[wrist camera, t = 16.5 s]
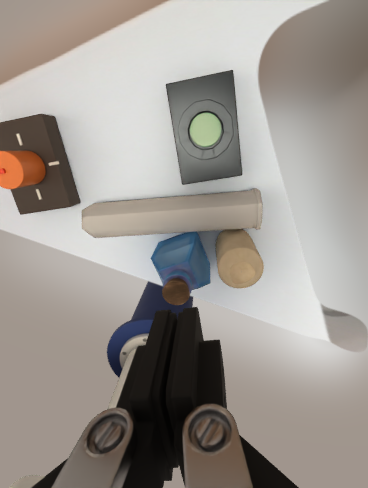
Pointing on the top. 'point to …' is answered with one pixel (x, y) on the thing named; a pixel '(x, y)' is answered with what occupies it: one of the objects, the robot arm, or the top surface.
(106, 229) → the tube
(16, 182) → the dial knob
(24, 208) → the dial block
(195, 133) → the button
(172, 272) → the perfume bottle
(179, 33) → the top surface
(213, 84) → the button housing
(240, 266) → the candle
